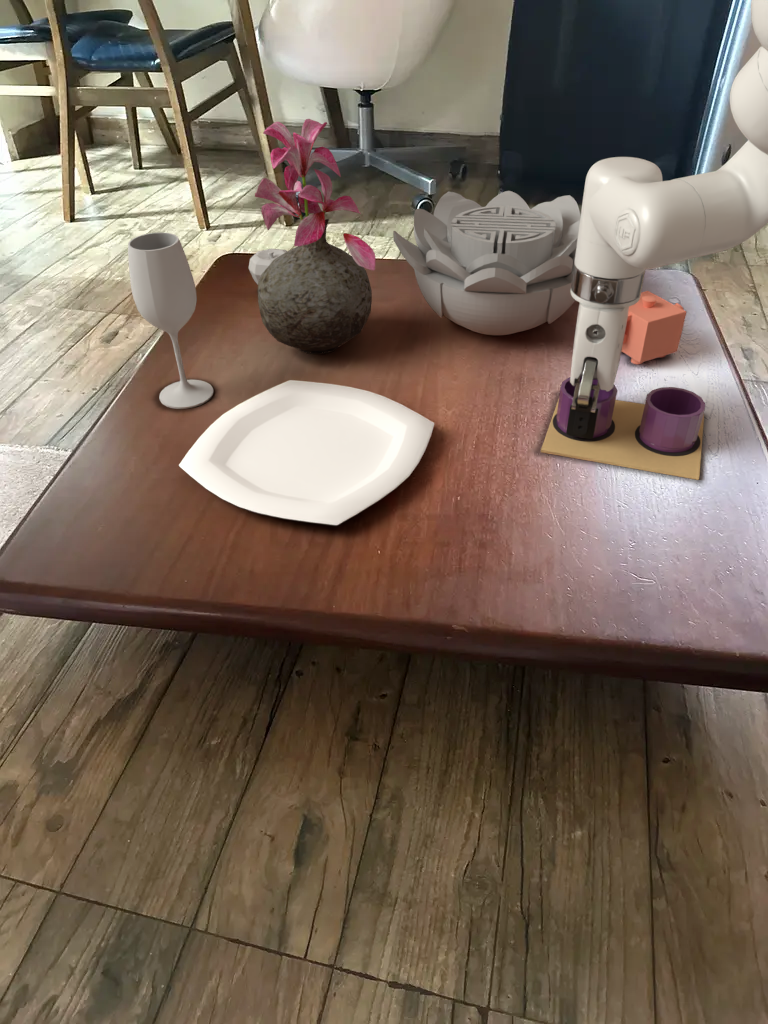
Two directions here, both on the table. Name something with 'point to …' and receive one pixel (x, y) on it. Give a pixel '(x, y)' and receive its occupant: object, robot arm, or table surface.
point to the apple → (263, 261)
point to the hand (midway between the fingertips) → (584, 418)
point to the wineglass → (166, 304)
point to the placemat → (624, 445)
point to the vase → (312, 255)
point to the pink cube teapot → (652, 328)
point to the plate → (309, 451)
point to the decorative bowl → (495, 260)
